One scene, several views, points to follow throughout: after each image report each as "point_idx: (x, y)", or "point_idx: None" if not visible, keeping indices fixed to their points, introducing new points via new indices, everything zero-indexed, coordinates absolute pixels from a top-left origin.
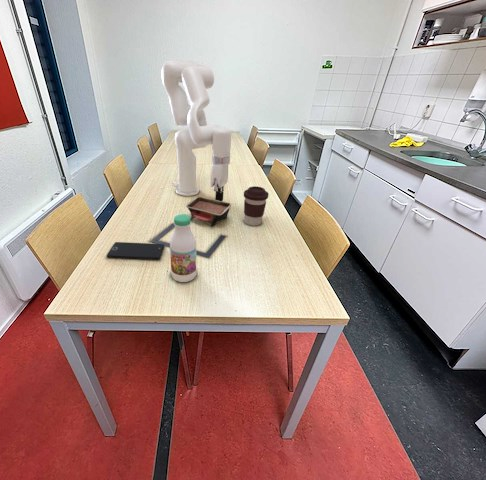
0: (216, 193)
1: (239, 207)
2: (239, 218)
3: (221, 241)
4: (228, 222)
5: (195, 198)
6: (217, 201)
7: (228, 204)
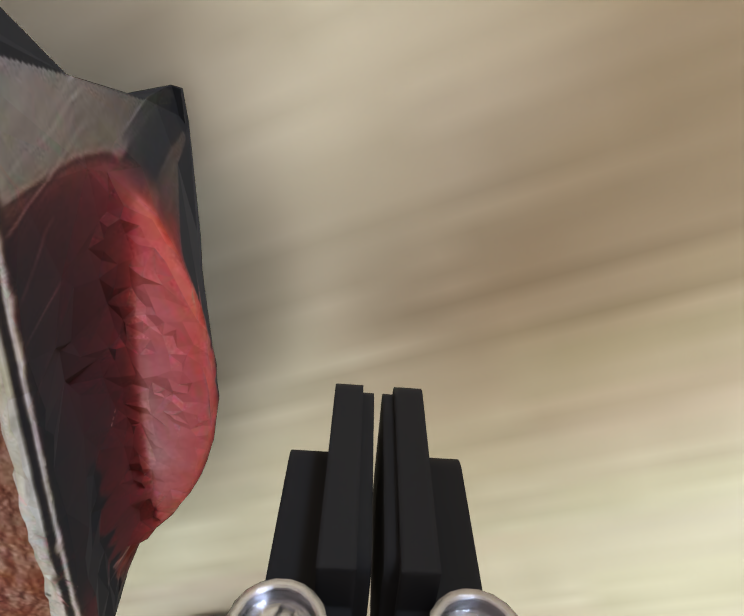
0: (317, 548)
1: (582, 517)
2: (255, 567)
3: None
4: None
5: None
6: (39, 558)
7: None
